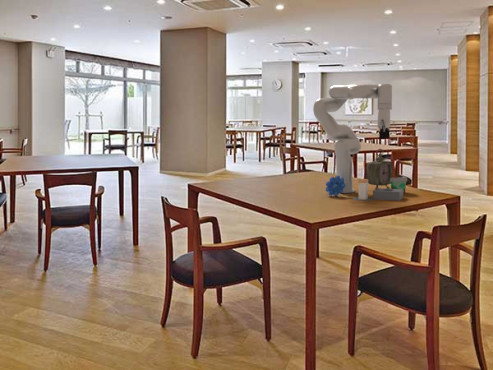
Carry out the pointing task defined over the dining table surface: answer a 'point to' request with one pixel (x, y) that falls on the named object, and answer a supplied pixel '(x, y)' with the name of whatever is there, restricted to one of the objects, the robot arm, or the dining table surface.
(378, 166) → the tabletop clock
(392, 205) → the dining table surface
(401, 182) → the food container
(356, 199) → the mat
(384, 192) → the grey rectangular box
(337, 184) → the blue gear
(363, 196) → the plug
